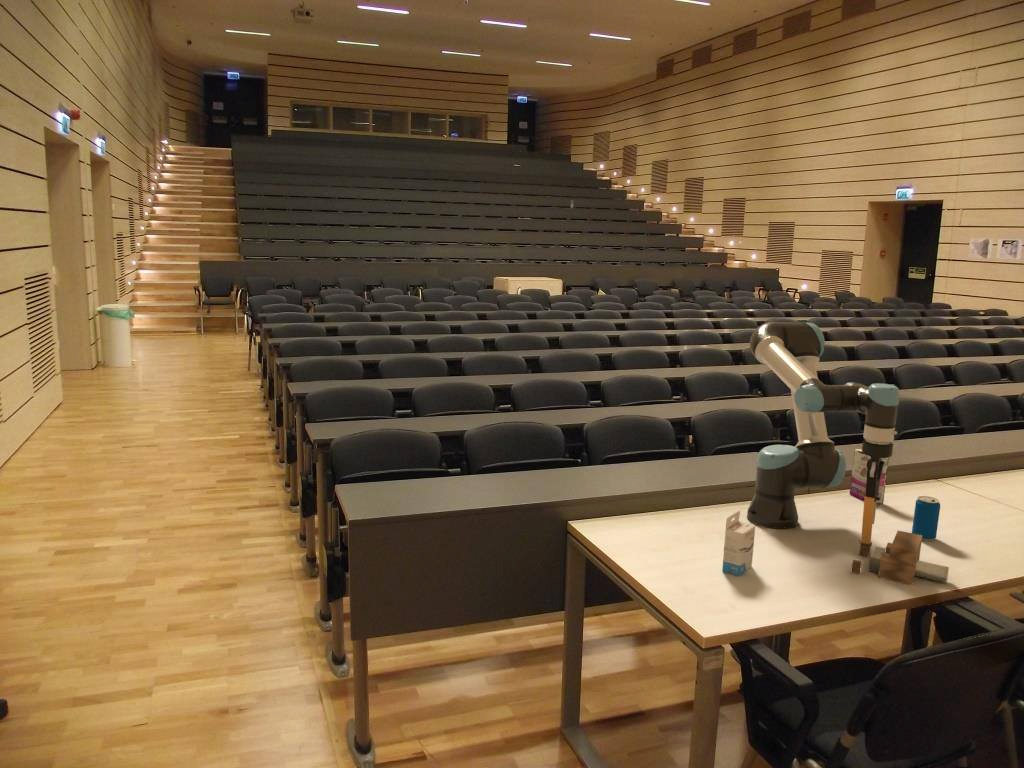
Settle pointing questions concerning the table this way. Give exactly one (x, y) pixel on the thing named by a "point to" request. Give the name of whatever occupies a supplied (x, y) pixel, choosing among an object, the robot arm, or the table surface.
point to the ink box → (738, 545)
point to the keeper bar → (867, 521)
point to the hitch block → (896, 558)
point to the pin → (921, 569)
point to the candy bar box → (865, 476)
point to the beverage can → (926, 517)
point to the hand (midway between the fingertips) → (868, 522)
